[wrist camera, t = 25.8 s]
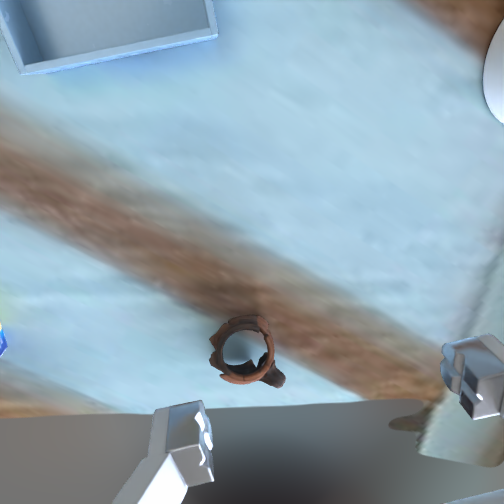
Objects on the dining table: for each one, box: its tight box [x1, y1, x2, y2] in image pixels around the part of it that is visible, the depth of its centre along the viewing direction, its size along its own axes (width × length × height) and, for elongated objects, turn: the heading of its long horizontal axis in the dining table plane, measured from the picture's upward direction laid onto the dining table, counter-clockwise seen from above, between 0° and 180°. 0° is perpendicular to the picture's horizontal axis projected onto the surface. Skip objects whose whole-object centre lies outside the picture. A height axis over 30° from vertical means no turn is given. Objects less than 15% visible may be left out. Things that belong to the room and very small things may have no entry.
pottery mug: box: [209, 315, 286, 388], centre depth 49 cm, size 12×10×8 cm
